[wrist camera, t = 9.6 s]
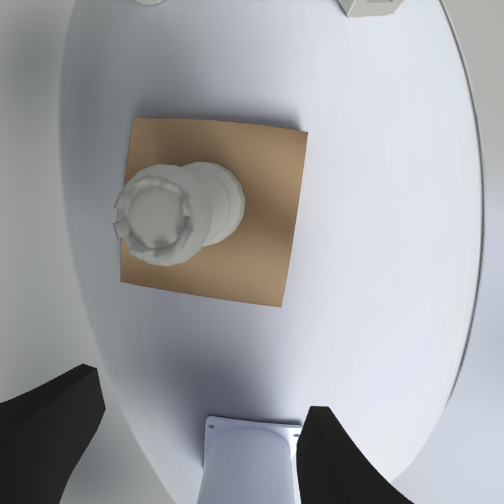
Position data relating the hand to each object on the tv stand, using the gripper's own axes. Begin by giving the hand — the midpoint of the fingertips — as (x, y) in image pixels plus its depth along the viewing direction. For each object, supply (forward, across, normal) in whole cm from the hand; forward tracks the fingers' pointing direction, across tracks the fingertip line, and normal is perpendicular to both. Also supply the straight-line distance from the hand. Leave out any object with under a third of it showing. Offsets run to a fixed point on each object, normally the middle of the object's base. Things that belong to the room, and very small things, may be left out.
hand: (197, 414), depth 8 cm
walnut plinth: (+10, +2, -5) cm, 12 cm away
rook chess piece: (+9, +2, -6) cm, 11 cm away
